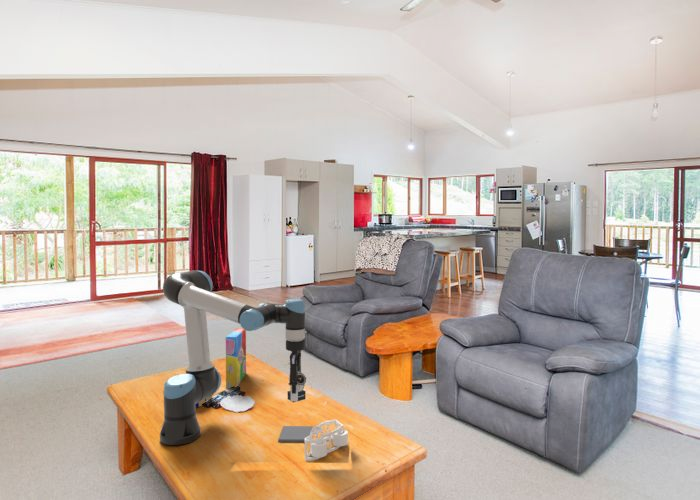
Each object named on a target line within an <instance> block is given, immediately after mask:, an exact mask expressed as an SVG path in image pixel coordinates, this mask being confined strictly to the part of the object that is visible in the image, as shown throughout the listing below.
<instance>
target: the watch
mask: <svg viewBox="0 0 700 500" xmlns="http://www.w3.org/2000/svg"><path fill="white" fill-rule="evenodd" d="M288 376H289V378H288V381H289V382H288V383H290V375H288ZM292 382H294V381H292ZM306 382H307V377H306V375H305V374H304V373H303V372H302V371H301V372H300V371H298V377H297V384H298V401H291V390H288V391H287V400H289V401H290V402H292V403H296V402H300V401H304V400H306V390H304V389H305V387H306ZM289 387H291V385H289Z"/></svg>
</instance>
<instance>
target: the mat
mask: <svg viewBox="0 0 700 500" xmlns="http://www.w3.org/2000/svg"><path fill="white" fill-rule="evenodd" d="M313 427H314V426H313V425H283V426H282V428H281V431H280V434H279V437H278V439H277V442H278V443H305V442H304V439H305V438H306V437H308V436H309V435H310V432H311V430H312V428H313ZM309 440H310V439H309Z"/></svg>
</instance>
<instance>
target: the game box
mask: <svg viewBox="0 0 700 500" xmlns="http://www.w3.org/2000/svg"><path fill="white" fill-rule="evenodd" d="M246 332H247V331H246V330H244V329H243V328H235V329H234V330H233V331H231V332H230V333H229V334H228V335H226V336H225V389H232V388H231V387H233V386H239V385H240V384H241V381H242V380H244V377H245V375H246V374H247V337H246V336H247V333H246Z"/></svg>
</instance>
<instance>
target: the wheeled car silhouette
mask: <svg viewBox="0 0 700 500" xmlns="http://www.w3.org/2000/svg"><path fill="white" fill-rule="evenodd" d="M332 424H334V430H331V431H330V426H329V425H332ZM324 426H326V433H324ZM318 434H320V436H319V435H318ZM313 436H315V438H313ZM348 436H349V432H348V430H347V429H344V424H343V423H341V422H339V420H338V419H331V420H325V421H323V422H321V423H320V422H319V424H315V425H314V426H313V428H312V430H311V432H310V435H309V436H308V437H306V438H305V439H304V442H303V443H304V460H305V462H306V461H307V462H312V461H317V460H319V459H322V458H324V457H326V456H327V455H328V454H329V453H332V452H334V451H336V450H339V448H341V447H345V446H347V445H348V443H349V437H348ZM309 439H310V440H309ZM308 444H310V446H309V450H310V451H309V453H308ZM332 445H333V447H332Z"/></svg>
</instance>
